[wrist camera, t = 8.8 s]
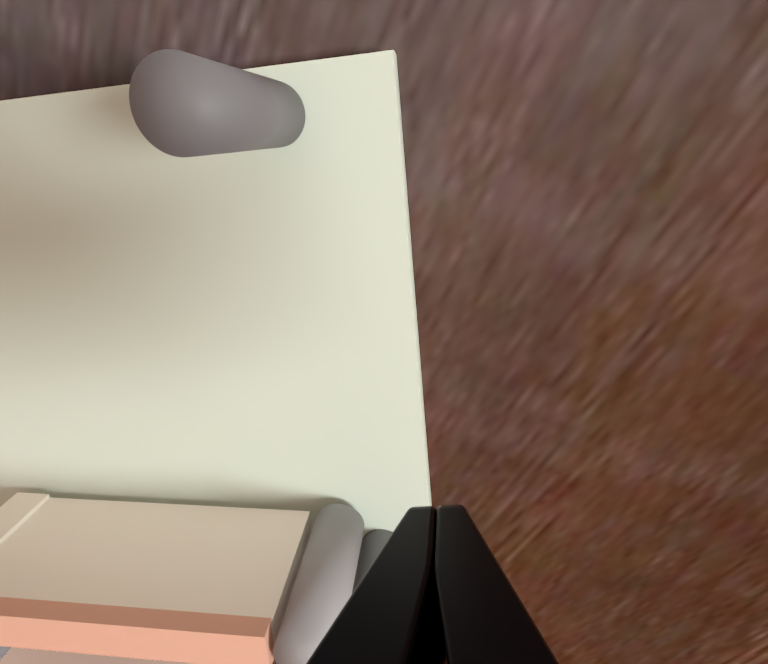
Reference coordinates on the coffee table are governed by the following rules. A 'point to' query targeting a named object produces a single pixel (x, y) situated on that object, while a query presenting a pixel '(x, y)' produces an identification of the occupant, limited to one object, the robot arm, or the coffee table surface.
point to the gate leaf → (173, 579)
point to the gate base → (213, 292)
